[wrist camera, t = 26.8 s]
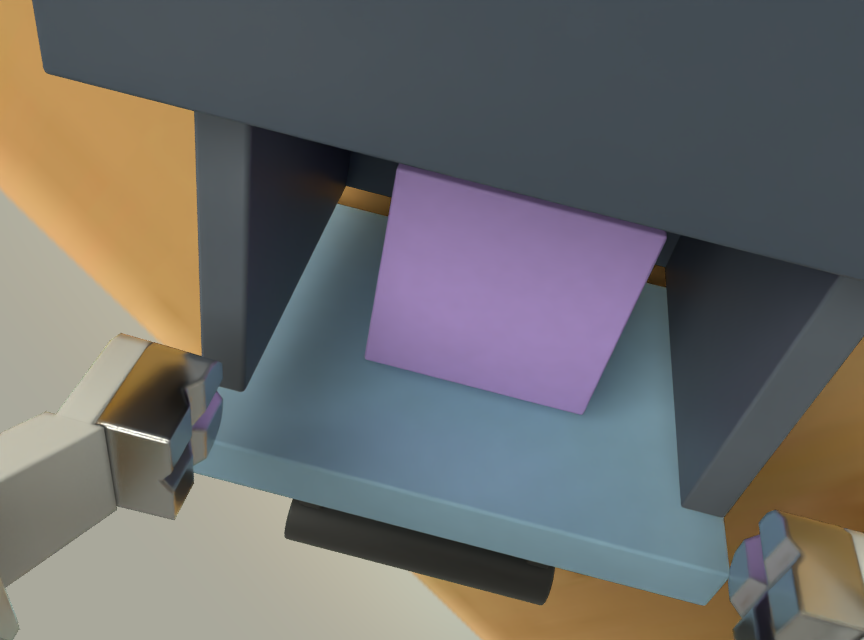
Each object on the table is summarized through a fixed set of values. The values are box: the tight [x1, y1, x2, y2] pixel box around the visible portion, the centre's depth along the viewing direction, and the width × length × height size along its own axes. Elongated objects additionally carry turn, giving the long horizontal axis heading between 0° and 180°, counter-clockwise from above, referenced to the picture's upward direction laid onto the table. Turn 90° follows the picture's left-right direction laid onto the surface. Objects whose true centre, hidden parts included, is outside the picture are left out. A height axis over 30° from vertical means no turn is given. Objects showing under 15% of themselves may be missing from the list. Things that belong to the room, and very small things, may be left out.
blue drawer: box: [193, 111, 864, 605], centre depth 16 cm, size 19×11×8 cm, turn 170°
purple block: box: [365, 163, 667, 415], centre depth 16 cm, size 4×4×5 cm
